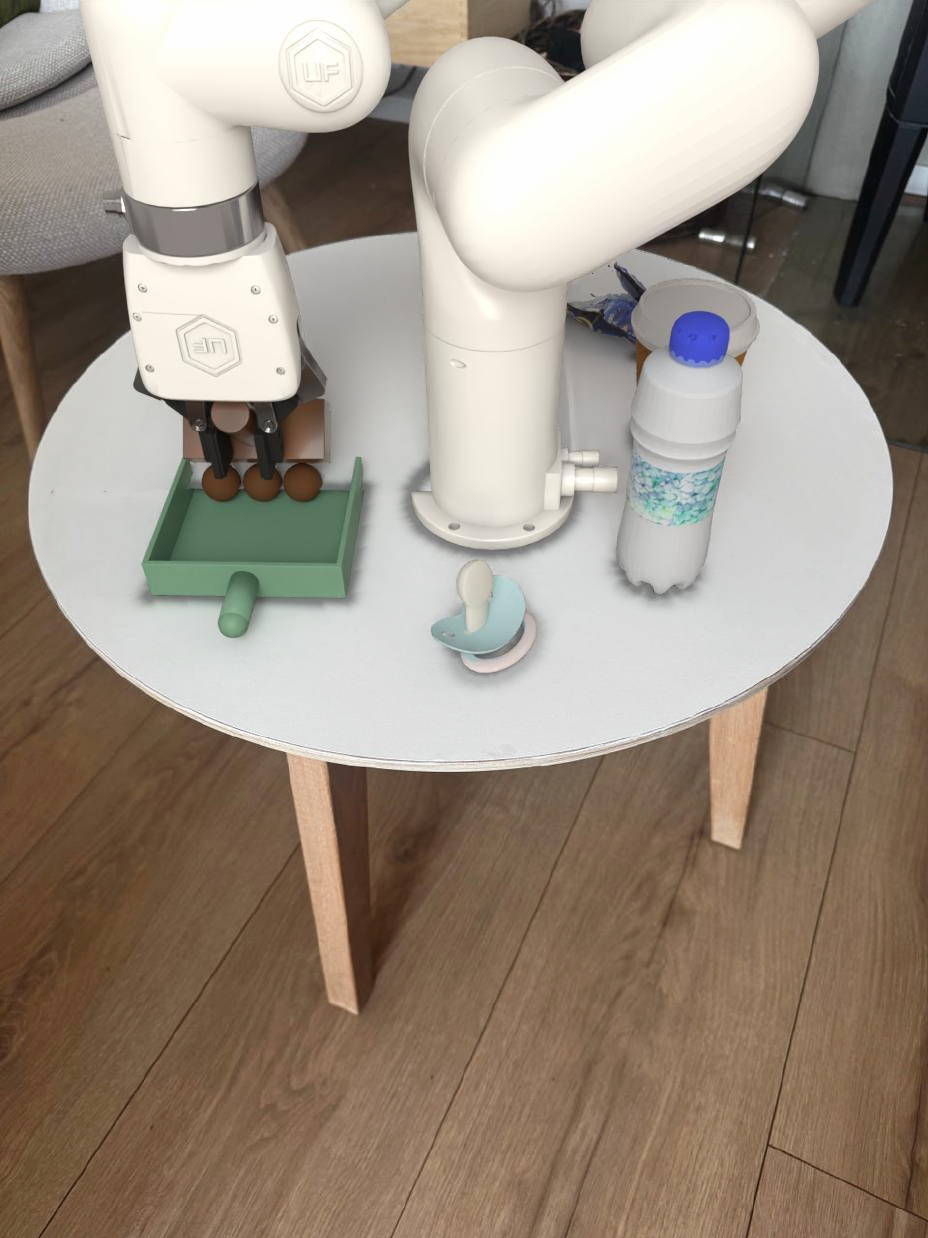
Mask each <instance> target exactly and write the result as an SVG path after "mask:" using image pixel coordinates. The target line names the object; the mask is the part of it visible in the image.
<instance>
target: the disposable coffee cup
mask: <svg viewBox="0 0 928 1238" xmlns="http://www.w3.org/2000/svg"><path fill="white" fill-rule="evenodd" d="M646 289H647V290H646V291H645V292H644V293H643V294H642V296H641V298H640V300H639V303H638V305H636V307H635V308H634V310H633V312H632V315H631V323H632V327H633V330H634V333H635V336H636V344H635V349H636V350H635V368H636V372H635V373H636V374H635V376H636V377H635V378H636V379H635V381H636V382H635V383H636V387H637V385H638V382H639V378H640V375H641V371H642V368H643V364H644V362H645V360H646V358H647V357H648V356H649V355H650V354H651V353H652V352H653V351H655V350H657V349H659V348H661V347H664V346H666V345H669V342H670V335H671V330H672V327H673V325H674V323H675V321H676V320H677V319H678V318H679V317H680V316H681V315H683V314H685V313H688V312H692V311H707V312H711V313H714V314H717V315H719V316H721V317H722V318H723V319H724V320H725V321H726V323H727V324H728V326H729V329H730V339H729V344H728V349H727V353H728V354H730V355H731V356H732V357H733V358H734V359H735V360H737V361H738V363H739V365H740V366H741V368H742V366H743V365H744V364H743V363H744V361H745V358H746V356H747V352H748V350H749V349H750V348H751V346H752V344H753V343H754V342H755V341H756V340H757V337H758V336H759V333H760V329H761V325H760V321H759V318H758V317H757V316H758V315H757V306H756V304H755V302H754V301H753V299H752V297H750V296H749V295H748V294H747V293H746V292H744V291H742V290H741V289H739V288H737V287H735V286H734V285H731V284H728V283H727V282H721V281H718V280H714V279H705V278H701V277H700V278H699V277H682V278H681V277H680V278H674V279H669V280H668V279H667V280H664V281H661V282H657V283H655V284H653V285H651V286H650V287H648V288H646Z"/></svg>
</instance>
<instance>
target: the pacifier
mask: <svg viewBox="0 0 928 1238" xmlns="http://www.w3.org/2000/svg"><path fill="white" fill-rule="evenodd" d="M455 585H456V586H455V587H456V592H457V595H458V597H459V599H460V600H461V602H462V606H461V612H460V613H459V614H457V615H451V616H447V617H444V618H441V619H439V620H436V622H434V623H433V624H432V625H431V626H430V634H431V636H432V638H433V639H434V640H435V641H436V642H438V643H439V644H441V645H443V646H445V647H447V648H449V649H451V650H453V651H457V652H460V659H461V661H462V662H463V664H464V666H465V667H467V668H468V669H469V670H470V671H473V672H476V673H478V674H490V673H497V672H500V671H502V670H505V669H507V668H510V667H511V666H513V665H515V664H516V663H518V662H519V661H520V660H521V659H522V658H523V657H525V656H526V655H527V653H528V652H529V651H530V649H531V648H532V647H533V645H534V642H535V641H536V638H537V632H538V626H537V621H536V619H535V618H534V616H533V615H532V614H531V613H530V612H528V611H527V610H526V601H525V596H524V594H523V592H522V590H521V589H520V587H519V585H518V584H517V583H516V581H514V580H513V579H511V578H509V577H507V576H505V575H497V574H495V575H494V574H493V571H492V568H491V566H490V564H489V563H488V562H486V560H483V559H472V560H469V561H467V562H466V563H465V564H463V566H462V567H461V568H460V569H459V572H458V574H457V576H456V583H455ZM490 596H492V597H491V599H489V598H490ZM521 626H522V628H523V633H522V636H521V637H520V640H519V641H518V642H517V643H516V645H515V646H513V647H512V648H511V649H510V650H509V651H507V652H505V653H504V654H502V655H499V656H497V657H494V658H487V659H486V658H480V657H477V656H476V655H483V654H488V653H493V652H495V651H498V650H499V649H501V648H503V647H504V646H506V645H507V644H508V643H509V642H511V641H512V639H513V638H514V637H515V636H516V635H517V633H518V632H519V630H520V627H521ZM444 634H451V635H452V637H451V636H446V635H444Z"/></svg>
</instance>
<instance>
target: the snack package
mask: <svg viewBox="0 0 928 1238" xmlns="http://www.w3.org/2000/svg"><path fill="white" fill-rule="evenodd" d="M610 267H611V265H609V264H608V265H607V268H610ZM613 269H614V270H615V275H616V277H617V278H618V280H619V283H620V286H621V288H623V290H624V291H625V292H627V293H625V292H623V293H620V294H618V293H608V294H603V295H601V296H596V295H595V294H594V293H592V292H590V293H589V294H590V296H592V297H593V299H590V300H587V301H575V302H567V310H566V315H568V316H570V318H573V319H574V320H576V321H578V322H579V323H581V324H583V325H585V327H587V328H588V329H590V330H591V331H594V332H596V333H599V334H603V335H608V336H615V337H620V338H621V337H622V338H625V339H627V340H629V341H630V342H631V343H632V344H635V345H636V336H635V333H634V330H633V327H632V323H631V315H632V312H633V310H634V308H635V307H636V305H638V303H639V300H640V298H641V296H642V294H643V293H644V292H645V291H646V290H647V289H648V288H646V287H645V286H644V284H643V283H642V281H639V279H638V278H637V277H636V276H635V275H634V274H632V273H630V272H629V271H628V269H627V268H626V267H623V266H621V265H619V264H618V260H616V261H615V263H613ZM614 270H612V272H613V273H614ZM591 274H592V275H594V274H595V273H594V272H591Z"/></svg>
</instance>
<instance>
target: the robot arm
mask: <svg viewBox="0 0 928 1238" xmlns="http://www.w3.org/2000/svg"><path fill="white" fill-rule="evenodd" d="M410 1H411V0H78V7H79V13H80V19H81V23H82V27H83V31H84V35H85V39H86V43H87V47H88V51H89V55H90V59H91V63H92V67H93V72H94V76H95V80H96V83H97V86H98V92H99V95H100V99H101V103H102V107H103V112H104V116H105V119H106V125H107V128H108V131H109V136H110V140H111V143H112V148H113V152H114V157H115V161H116V164H117V168H118V172H119V177H120V181H121V185H122V186H121V188H116V189H115V190H105V191H104V192H103V193H102V194H103V195H102V204H103V205H102V206H103V209H104V212H105V214H106V215H107V216H112V217H113V216H117V217H118V218H120V219H125V220H126V222H127V224H128V229H129V234H128V236H127V237H126V238H125V239H124V241H123V243H122V266H123V277H124V289H125V297H126V305H127V312H128V320H129V326H130V332H131V338H132V342H133V343H132V344H133V349H134V353H135V359H136V364H137V368H136V372H135V375H134V379H133V383H132V386H133V389H134V390H135V391H136V392H138V393H140V394H142V395H145V396H147V397H150V398H153V399H155V400H157V401H163V402H164V403H165V404H166V405H167V406H168V407H169V408H171V409H172V410H173V411H175V412H176V413H178V414H179V415H180V416H182V418H183V417H185V418H186V419H187V420H189V425H190V427H191V428H192V429H193V430H195V431H197V432H198V433H199V437H200V442H201V446H202V450H203V455H204V459H205V461H206V462H211V463H210V465H212V468H213V473H214V477H215V479H223V478H224V477H226V476H227V473H228V470H229V467H230V465H232V463H231V461H232V458H233V448H232V443H231V438H230V436H229V435H228V434H226V433H224V432H222V431H221V430H219V429H218V428H217V427H216V426H215V425H214V423H213V421H212V419H211V408H212V405H213V403H214V402H215V401H230V402H253V404H254V408H255V411H256V415H257V421H256V422H257V425H256V428H255V431H254V443H255V448H256V454H257V459H258V464H259V470H260V475H261V478H264V480H272V478H273V475H274V471H275V468H277V467H276V466H277V464H284V463H283V459H284V452H285V451H284V442H283V436H282V430H281V424H280V423H281V422H282V421H283V420H284V419H285V418H286V417H287V416H288V415H289V414H290V413H291V412H293V411H294V410H295V409H296V407H297V406H298V405H300V404H302V403H307V402H309V401H311V400H314V399H316V398H322V397H323V396H324V395H325V394H326V392H327V388H328V384H329V378H328V376H327V375H326V374H325V373H324V371H323V369H322V367H321V366H320V365H319V364H318V362H317V360H316V358H315V357H314V356H313V355H312V353H311V351H310V350H309V348H308V347H307V345H306V336H305V329H304V324H303V319H302V315H301V310H300V305H299V300H298V296H297V292H296V288H295V284H294V280H293V275H292V273H291V269H290V266H289V263H288V259H287V257H286V253H285V250H284V247H283V244H282V242H281V239H280V235H279V234H278V231H277V229H276V227H275V226H274V224H273V223H271V222H269V221H268V222H267V221H265V214H264V209H263V208H264V207H263V199H262V194H261V188H260V181H259V180H260V179H259V175H258V168H257V161H256V154H255V150H254V149H255V147H254V140H253V134H252V128H251V127H253V128H261V129H262V128H263V129H271V130H280V131H287V132H288V131H289V132H298V133H307V134H308V133H311V134H314V133H318V134H319V133H330V132H336V131H341V130H344V129H348V128H350V127H353V126H354V125H356V124H357V123H359V122H361V121H363V120H364V119H365V118H367V117H368V116H369V115H370V114H371V113H372V112H373V111H374V110H375V109H376V107H377V106H378V105H379V103H380V102H381V100H382V99H383V96H384V95H385V92H386V90H387V89H388V88H387V87H388V84H389V81H390V78H391V71H392V56H393V55H392V48H391V41H390V35H389V31H388V28H387V25H386V22H385V20H387V19H388V18H389V17H390V16H392V15H393V14H395V12H396V11H398V10H399V9H401V8H402V7H403V6H405V5H407V3H408V2H410ZM874 1H875V0H589V3H588V5H587V8H586V10H585V12H584V16H583V19H582V23H581V29H580V49H581V57H582V63H583V66H584V69H585V70H584V71H582V72H581V73H578V74H577V75H575V76H573V77H572V78H570V79H569V80H566V81H565V80H564V79H562V77H561V76H560V74H559V73H558V72H557V70H556V69H554V67H553V65H551V64H550V63H549V62H548V61H547V60H546V59H545V58H543V56H542V55H540V54H539V53H538V52H536V51H535V50H534V49H532V48H530V47H529V46H526V45H525V44H522V43H520V42H518V41H515V40H513V39H510V38H506V37H500V36H481V37H475V38H471V39H468V40H464V41H462V42H460V43H458V44H456V45H454V46H453V47H451V48H450V49H448V50H446V51H445V52H444V53H443V54H442V55H441V56H439V57H438V58H437V59H436V60H435V61H434V62H433V64H432V65H431V66H430V67H429V68H428V70H427V71H426V73H425V74H424V76H423V78H422V79H421V81H420V84H419V86H418V87H417V90H416V93H415V95H414V98H413V102H412V106H411V110H410V116H409V124H408V133H407V134H408V135H407V136H408V138H407V139H408V143H407V144H408V146H407V147H408V160H409V173H410V181H411V189H412V197H413V206H414V214H415V223H416V231H417V243H418V244H417V245H418V253H419V267H420V269H419V270H420V283H421V284H420V287H421V303H422V330H423V351H424V369H425V388H426V389H425V390H426V391H425V392H426V410H427V413H426V414H427V429H428V430H427V431H428V434H427V435H428V451H429V469H430V470H429V473H430V474H429V475H430V487H431V490H410V496H411V505H412V509H413V511H414V514H415V515H416V517H417V519H418V520H419V521H420V522H421V524H422V525H423V526H424V527H425V528H426V529H428V531H430V532H431V533H432V534H433V535H436V536H437V537H439V538H441V539H442V540H445V541H446V542H449V543H452V544H455V545H457V546H461V547H466V548H471V549H475V550H486V551H487V550H488V551H495V550H496V551H497V550H511V549H517V548H521V547H525V546H528V545H531V544H533V543H537V542H538V541H540V540H543V539H545V538H547V537H549V536H551V535H552V534H554V532H556V531H557V530H558V529H560V528H561V527H562V526H563V525H564V524H565V522H566V521H567V520H568V519H569V516H570V514H571V512H572V510H573V509H574V508H573V507H574V500H575V492H592V493H603V494H605V493H608V494H609V493H610V494H616V493H617V492H618V481H619V471H618V467H617V466H600V450H599V449H598V450H596V449H595V450H594V449H593V450H591V449H590V450H587V449H582V450H569V447H565V446H564V447H562V443H561V441H562V440H561V430H560V429H559V424H560V423H559V422H560V409H561V408H560V407H561V406H560V405H561V391H562V390H561V389H562V377H563V376H562V375H563V360H564V345H565V329H566V319H567V313H566V310H567V303H568V293H569V283H571V282H574V281H576V280H578V279H580V278H582V277H585V276H586V275H588V274H591V273H593V272H594V271H596V270H598V269H600V268H602V267H604V266H605V265H607V264H608V265H609V264H610V263H611V262H613V261H615V260H617V259H619V258H620V257H623V256H624V255H626V254H628V253H630V252H632V251H634V250H635V249H637V248H639V247H641V246H643V245H645V244H646V243H648V242H650V241H652V240H654V239H655V238H657V237H659V236H661V235H663V234H665V233H666V232H669V231H670V230H672V229H674V228H675V227H677V226H679V225H681V224H683V223H685V222H686V221H689V220H690V219H691V218H694V217H695V216H697V215H699V214H701V213H702V212H704V211H707V210H708V209H710V208H711V207H714V206H716V205H717V204H719V203H720V202H722V201H724V200H725V199H727V198H729V197H730V196H731V197H732V195H734V194H736V193H737V192H739V191H740V190H742V189H743V188H745V187H746V186H748V185H749V184H751V183H752V182H753V181H754V180H756V179H757V178H758V177H760V176H761V175H762V174H763V173H765V172H766V171H767V170H768V169H769V168H770V167H771V166H772V164H774V163H775V162H776V160H777V159H779V158H780V156H782V154H783V153H784V152H785V151H786V150H787V148H788V147H789V146H790V144H791V143H792V142H793V140H794V139H795V138H796V136H797V134H798V133H799V131H800V130H801V128H802V127H803V125H804V123H805V121H806V118H807V116H808V115H809V112H810V110H811V108H812V104H813V101H814V98H815V96H816V92H817V87H818V83H819V75H820V54H819V46H818V40H819V39H820V38H823V36H825V35H826V34H828V33H830V32H831V31H833V30H834V29H836V28H837V27H839V26H840V25H842V24H843V23H845V22H846V21H848V20H850V19H851V18H853V17H854V16H856V15H857V14H858V13H860V12H862V11H863V10H864V9H865V8H867V7H868V6H870V5H871V4H872V3H873V2H874Z"/></svg>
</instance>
